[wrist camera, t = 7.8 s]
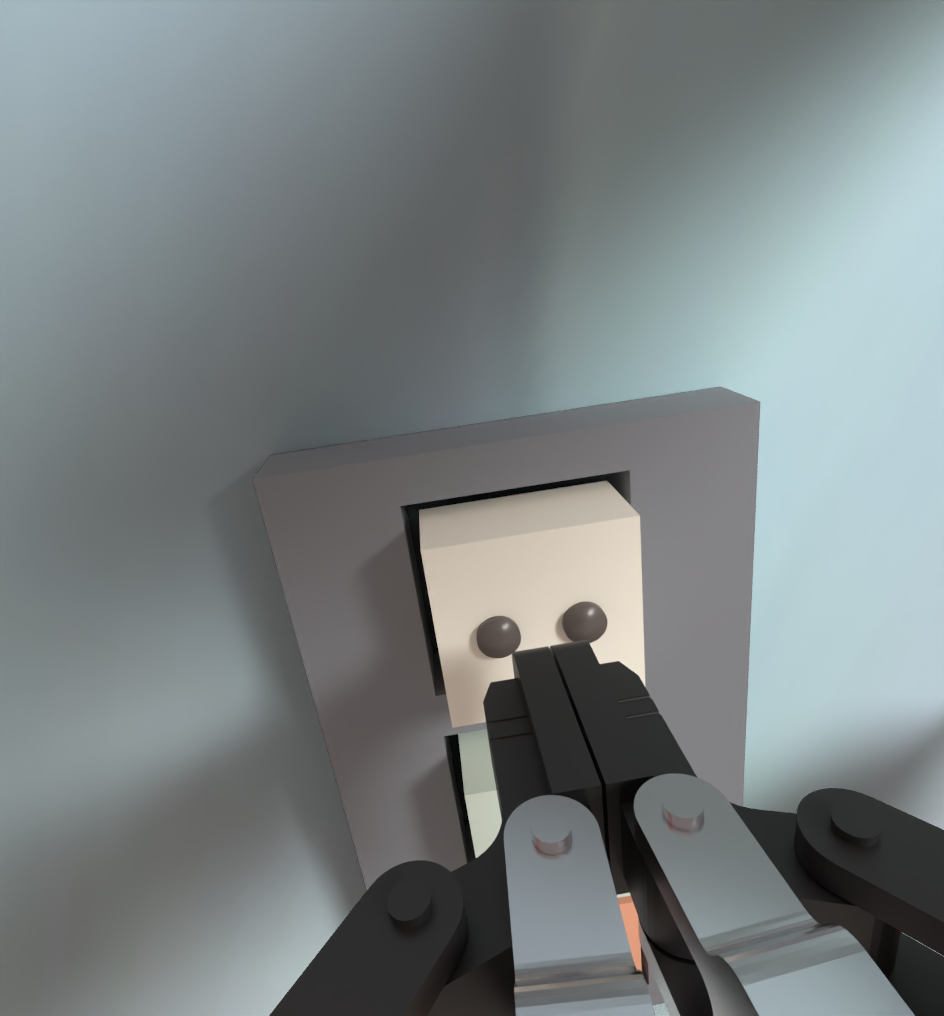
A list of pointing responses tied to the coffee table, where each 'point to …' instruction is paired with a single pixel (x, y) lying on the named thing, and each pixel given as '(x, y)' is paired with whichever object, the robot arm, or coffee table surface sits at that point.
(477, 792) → the sage button
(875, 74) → the coffee table surface
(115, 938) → the coffee table surface
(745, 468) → the button board
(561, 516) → the cream button
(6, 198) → the coffee table surface
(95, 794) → the coffee table surface
